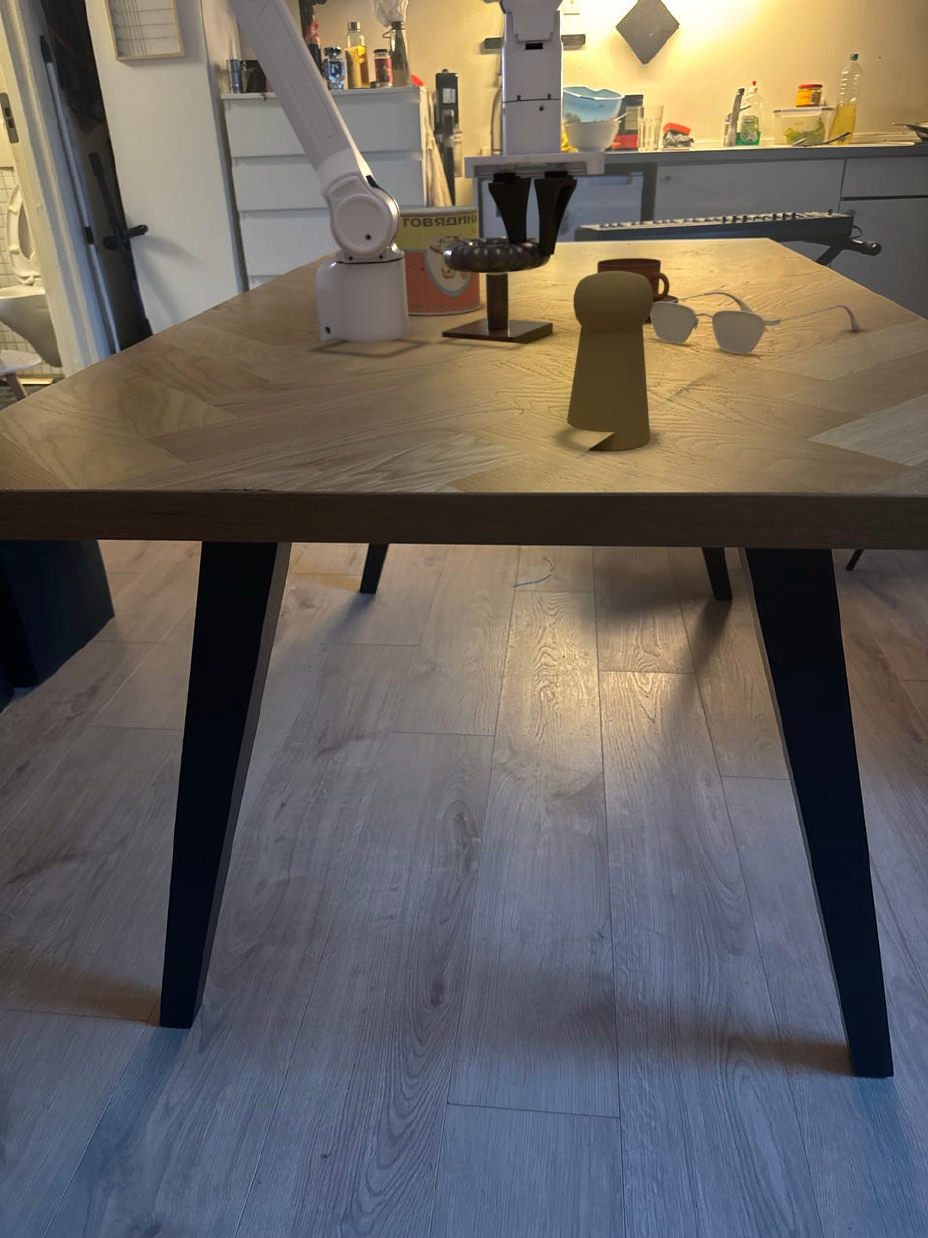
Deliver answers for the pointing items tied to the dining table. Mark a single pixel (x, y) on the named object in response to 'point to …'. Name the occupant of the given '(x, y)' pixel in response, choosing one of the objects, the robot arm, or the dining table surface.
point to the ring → (493, 255)
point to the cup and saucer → (644, 268)
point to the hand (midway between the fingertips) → (532, 254)
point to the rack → (500, 319)
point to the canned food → (437, 259)
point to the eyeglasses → (719, 324)
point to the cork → (611, 359)
